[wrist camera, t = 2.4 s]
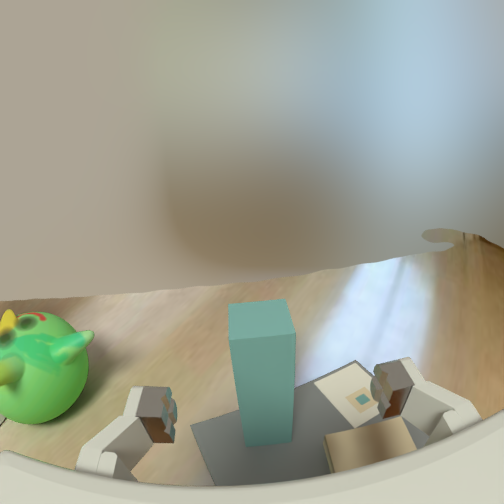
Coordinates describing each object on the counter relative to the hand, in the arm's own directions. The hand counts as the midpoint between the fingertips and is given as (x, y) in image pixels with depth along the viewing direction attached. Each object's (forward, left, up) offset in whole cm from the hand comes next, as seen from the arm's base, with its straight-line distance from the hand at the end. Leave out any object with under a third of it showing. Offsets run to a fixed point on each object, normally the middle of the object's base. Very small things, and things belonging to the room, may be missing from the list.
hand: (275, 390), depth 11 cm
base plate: (+8, +5, -22) cm, 24 cm away
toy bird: (-23, +26, -22) cm, 41 cm away
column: (+4, +12, -21) cm, 25 cm away
